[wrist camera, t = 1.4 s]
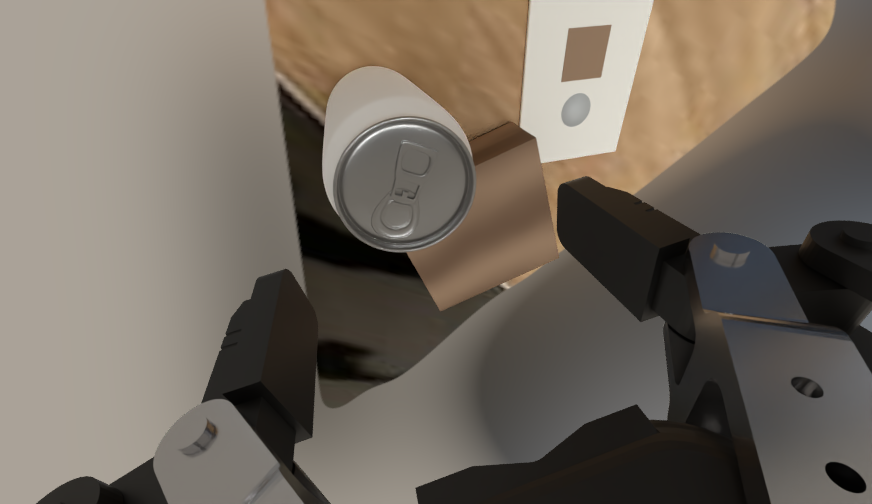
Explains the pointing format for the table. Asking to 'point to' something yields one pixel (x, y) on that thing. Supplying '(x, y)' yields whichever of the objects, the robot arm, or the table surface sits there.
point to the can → (395, 162)
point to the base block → (494, 222)
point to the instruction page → (580, 73)
